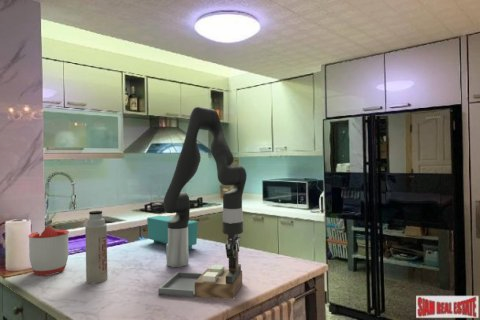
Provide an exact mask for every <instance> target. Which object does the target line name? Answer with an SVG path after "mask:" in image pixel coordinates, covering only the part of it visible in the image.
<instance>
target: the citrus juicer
mask: <svg viewBox="0 0 480 320" xmlns="http://www.w3.org/2000/svg"><path fill="white" fill-rule="evenodd" d="M28 240H29V241H28V250H29V251H28V252H29V253H28V255H29V263H30V266H31V270H32V271H33V273H34V275H35V276H36V275H37V276H41V277H46V276H49V275H53V274H58V273H62V272H63V271H64V270H65V269H66V266H67V263H68V258H69V230H67V229H54V228H53V227H51V226H47V227H46V228H45V229H44V230H43V231H42V232H41V234H40V233H39V232H31V233H30V234H28Z"/></svg>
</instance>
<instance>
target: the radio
mask: <svg viewBox="0 0 480 320" xmlns="http://www.w3.org/2000/svg"><path fill="white" fill-rule="evenodd" d="M172 218H173V217H171V216H165V215H154V216H148V217H147V218H146V220H147V221H146V222H147V232H148V234H147V235H148V239H149V240H152V241H153V244H158V243H164V244H166V245H167V244H168V221H170V220H171V219H172ZM198 224H199V222H198V221H197V220H196V221H194V220H190V219H189V222H188V251H189V250H192V249H193V246H195V245H197V242H198V240H197V238H198Z"/></svg>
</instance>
